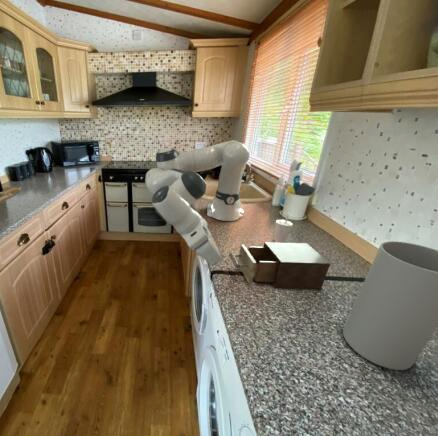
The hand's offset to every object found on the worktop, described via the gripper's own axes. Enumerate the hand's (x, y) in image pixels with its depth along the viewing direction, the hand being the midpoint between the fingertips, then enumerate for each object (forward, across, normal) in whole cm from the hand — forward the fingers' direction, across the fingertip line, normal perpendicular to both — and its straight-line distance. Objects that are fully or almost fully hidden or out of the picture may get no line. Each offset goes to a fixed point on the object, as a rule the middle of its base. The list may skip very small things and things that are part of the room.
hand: (220, 255), depth 80 cm
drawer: (+14, 0, +5) cm, 15 cm away
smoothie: (+28, -24, +17) cm, 41 cm away
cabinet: (+22, 0, +12) cm, 25 cm away
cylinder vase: (+27, +27, +16) cm, 42 cm away
